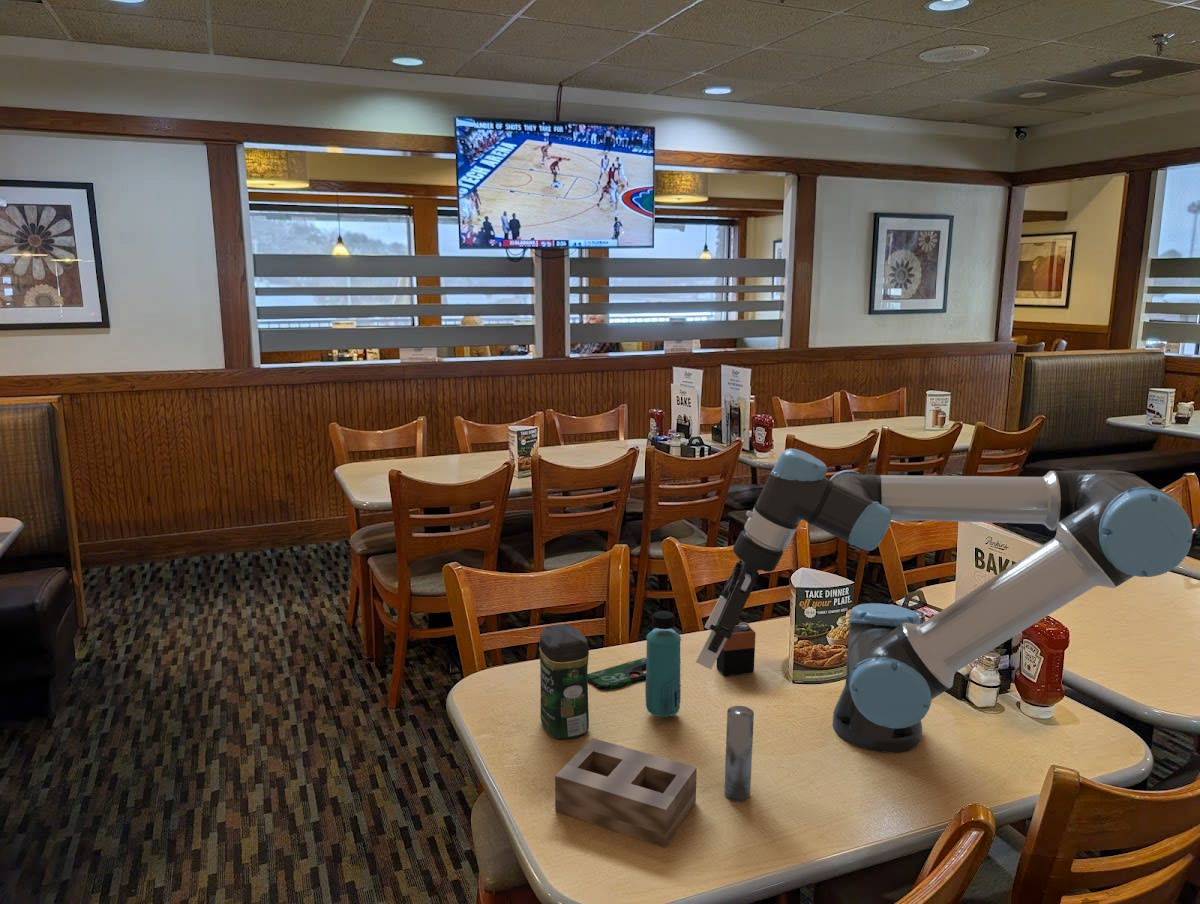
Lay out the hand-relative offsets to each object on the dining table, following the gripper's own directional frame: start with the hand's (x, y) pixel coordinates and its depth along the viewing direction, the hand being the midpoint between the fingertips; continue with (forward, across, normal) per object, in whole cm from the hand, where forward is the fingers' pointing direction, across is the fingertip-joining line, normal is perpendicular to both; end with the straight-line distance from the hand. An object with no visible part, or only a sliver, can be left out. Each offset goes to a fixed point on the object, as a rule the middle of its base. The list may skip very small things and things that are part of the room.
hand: (707, 646), depth 142 cm
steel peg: (+14, +13, +13) cm, 23 cm away
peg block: (+20, +20, -2) cm, 29 cm away
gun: (+25, -22, -8) cm, 34 cm away
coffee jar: (+27, 0, -16) cm, 31 cm away
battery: (+16, -30, +10) cm, 36 cm away
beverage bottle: (+21, -8, -1) cm, 22 cm away
